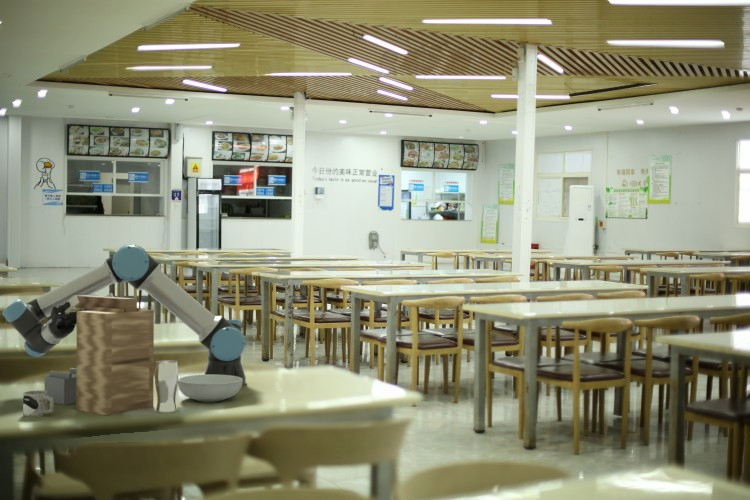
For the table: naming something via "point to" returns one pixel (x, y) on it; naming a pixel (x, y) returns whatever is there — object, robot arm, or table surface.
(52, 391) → the grey cradle
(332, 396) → the table surface
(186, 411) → the table surface
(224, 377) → the serving bowl
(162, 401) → the beer glass
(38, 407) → the mug
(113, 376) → the oak stand
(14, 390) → the table surface
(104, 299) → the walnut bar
